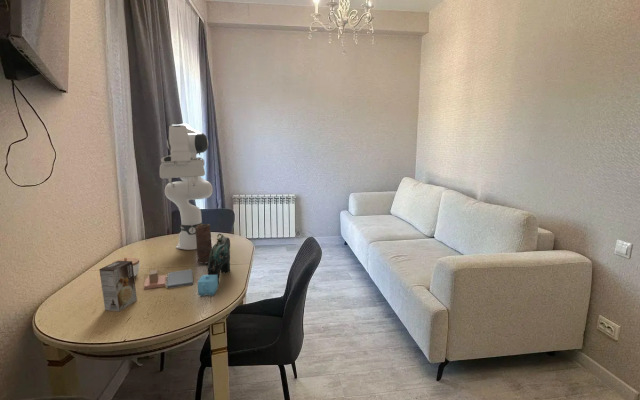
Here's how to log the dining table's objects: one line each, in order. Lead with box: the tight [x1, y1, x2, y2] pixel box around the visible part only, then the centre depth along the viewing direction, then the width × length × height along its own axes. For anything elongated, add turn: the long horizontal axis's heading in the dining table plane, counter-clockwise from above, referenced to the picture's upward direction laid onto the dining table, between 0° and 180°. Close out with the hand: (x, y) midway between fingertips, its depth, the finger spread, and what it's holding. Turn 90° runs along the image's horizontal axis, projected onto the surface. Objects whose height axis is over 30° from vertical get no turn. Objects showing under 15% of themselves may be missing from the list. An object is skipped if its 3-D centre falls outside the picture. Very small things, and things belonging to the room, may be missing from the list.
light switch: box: [143, 268, 167, 290], centre depth 144 cm, size 10×8×5 cm
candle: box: [195, 223, 213, 264], centre depth 167 cm, size 8×7×20 cm
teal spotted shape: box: [207, 233, 231, 285], centre depth 148 cm, size 20×6×20 cm, turn 177°
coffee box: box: [98, 260, 138, 312], centre depth 123 cm, size 9×6×16 cm
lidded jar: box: [112, 257, 140, 278], centre depth 150 cm, size 11×11×9 cm
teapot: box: [197, 274, 219, 297], centre depth 133 cm, size 12×6×8 cm, turn 4°
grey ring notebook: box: [165, 268, 194, 290], centre depth 147 cm, size 16×11×1 cm
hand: (184, 186), depth 160 cm, fingers open, 8 cm apart
